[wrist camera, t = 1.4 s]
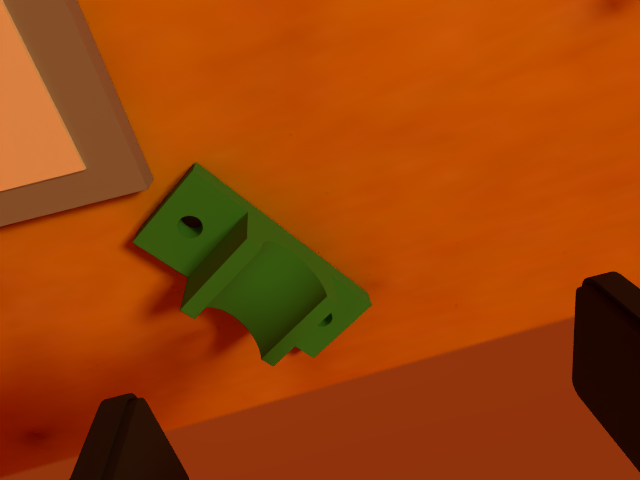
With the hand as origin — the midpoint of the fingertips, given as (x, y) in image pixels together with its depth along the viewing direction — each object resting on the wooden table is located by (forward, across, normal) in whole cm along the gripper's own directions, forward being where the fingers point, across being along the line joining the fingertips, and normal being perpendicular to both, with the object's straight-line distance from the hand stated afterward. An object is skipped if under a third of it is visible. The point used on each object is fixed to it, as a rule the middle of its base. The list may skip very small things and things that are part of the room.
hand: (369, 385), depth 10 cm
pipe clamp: (+10, +1, 0) cm, 10 cm away
